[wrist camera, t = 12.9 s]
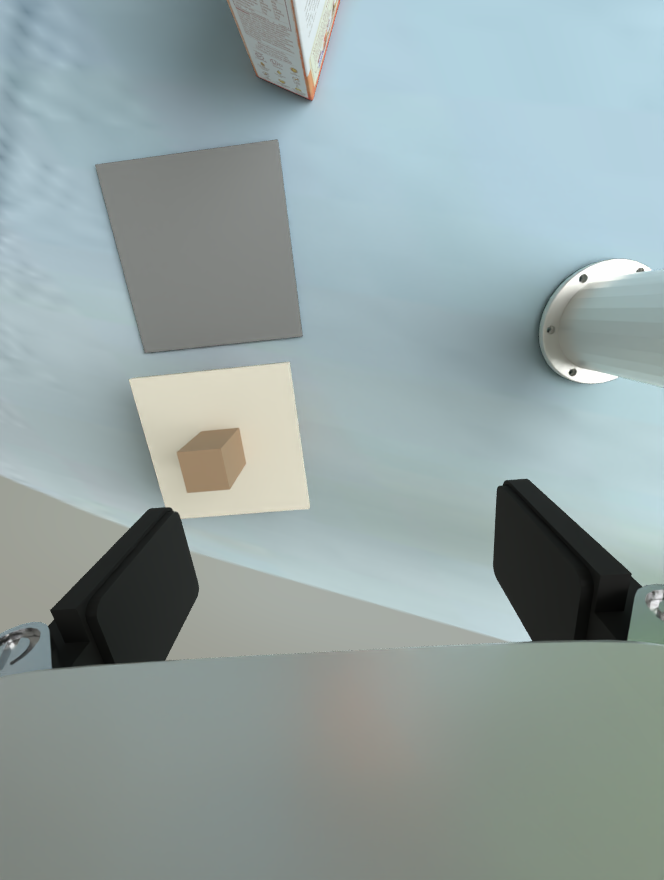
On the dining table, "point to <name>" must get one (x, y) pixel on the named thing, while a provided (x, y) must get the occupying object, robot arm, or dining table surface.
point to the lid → (224, 440)
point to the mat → (205, 245)
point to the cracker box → (286, 39)
